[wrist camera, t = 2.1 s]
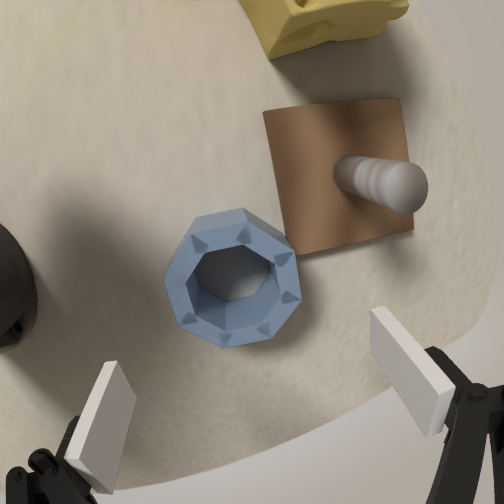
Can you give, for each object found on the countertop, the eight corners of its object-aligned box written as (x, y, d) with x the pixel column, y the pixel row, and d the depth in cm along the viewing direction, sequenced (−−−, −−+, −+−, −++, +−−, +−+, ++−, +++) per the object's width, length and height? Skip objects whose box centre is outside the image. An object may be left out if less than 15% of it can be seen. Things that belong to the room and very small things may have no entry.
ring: (192, 322, 29) (188, 354, 24) (163, 225, 26) (151, 242, 21) (293, 301, 29) (306, 330, 24) (275, 200, 26) (288, 212, 21)
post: (288, 253, 27) (322, 308, 18) (262, 112, 24) (288, 90, 14) (408, 226, 28) (476, 262, 18) (393, 99, 24) (466, 86, 14)
